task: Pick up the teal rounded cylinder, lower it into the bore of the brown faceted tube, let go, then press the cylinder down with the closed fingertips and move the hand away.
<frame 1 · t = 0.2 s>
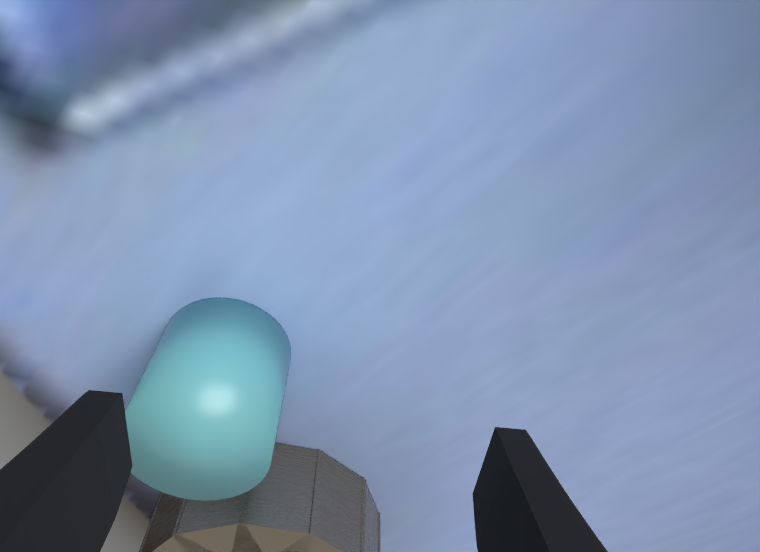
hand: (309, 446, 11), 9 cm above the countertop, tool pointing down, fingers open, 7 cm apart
teal rounded cylinder: (228, 348, 22), on the countertop
brown faceted tube: (271, 514, 28), on the countertop
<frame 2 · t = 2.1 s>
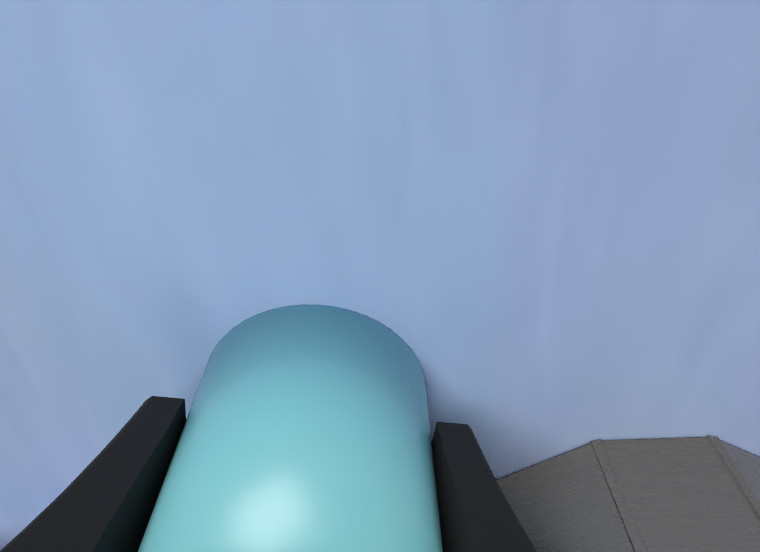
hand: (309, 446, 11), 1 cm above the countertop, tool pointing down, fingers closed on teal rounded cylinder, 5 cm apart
teal rounded cylinder: (316, 394, 13), on the countertop, touching gripper
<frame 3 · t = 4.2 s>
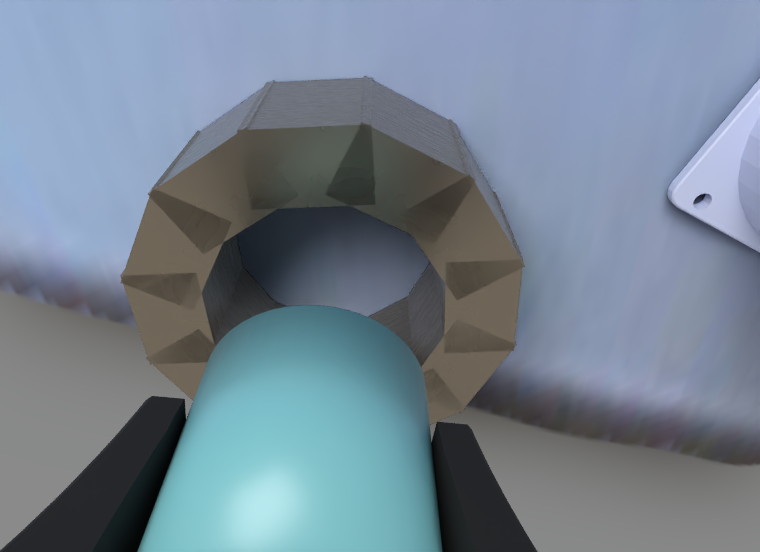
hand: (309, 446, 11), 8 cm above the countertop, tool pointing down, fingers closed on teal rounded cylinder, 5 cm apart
teal rounded cylinder: (315, 395, 13), point 7 cm above the countertop, touching gripper
brown faceted tube: (335, 240, 19), on the countertop
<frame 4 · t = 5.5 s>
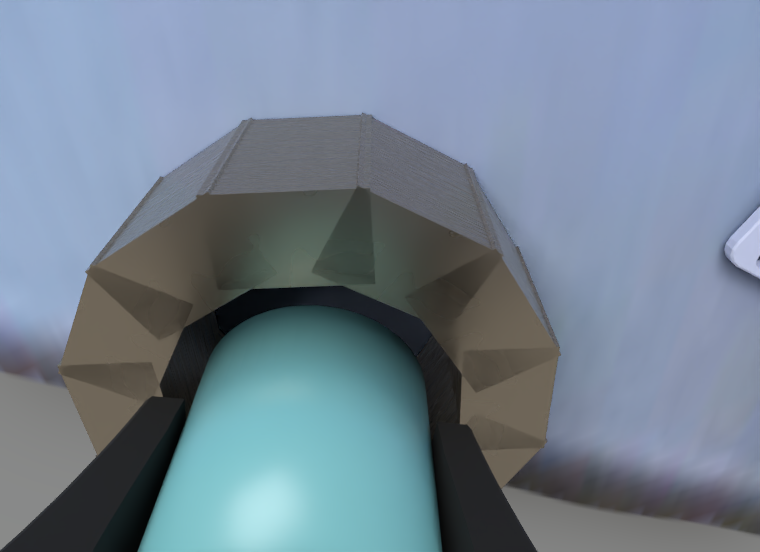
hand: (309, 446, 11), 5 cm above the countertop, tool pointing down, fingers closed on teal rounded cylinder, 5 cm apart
teal rounded cylinder: (315, 395, 13), point 4 cm above the countertop, touching gripper
brown faceted tube: (327, 300, 16), on the countertop
when the fingers open (5 cm above the countertop, at t = 6.4 s): teal rounded cylinder drops 4 cm, resting in brown faceted tube.
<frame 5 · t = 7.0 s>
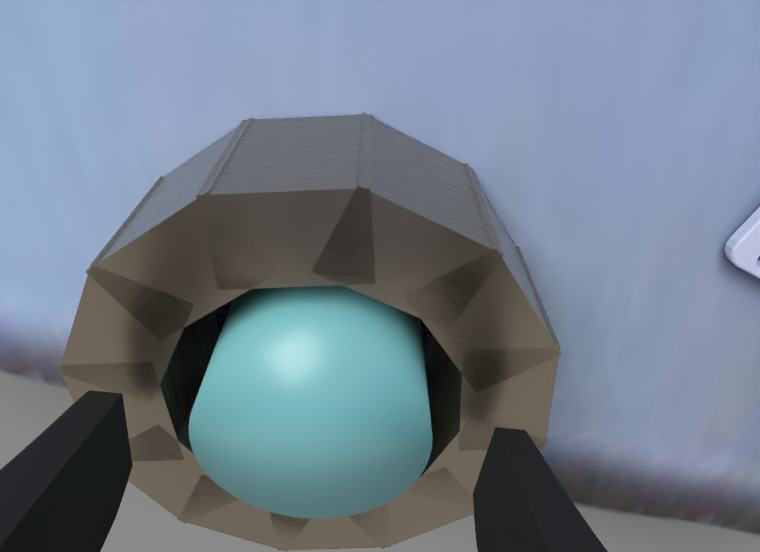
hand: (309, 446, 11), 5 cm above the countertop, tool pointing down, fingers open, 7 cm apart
teal rounded cylinder: (329, 299, 16), resting in brown faceted tube
brown faceted tube: (327, 300, 16), on the countertop
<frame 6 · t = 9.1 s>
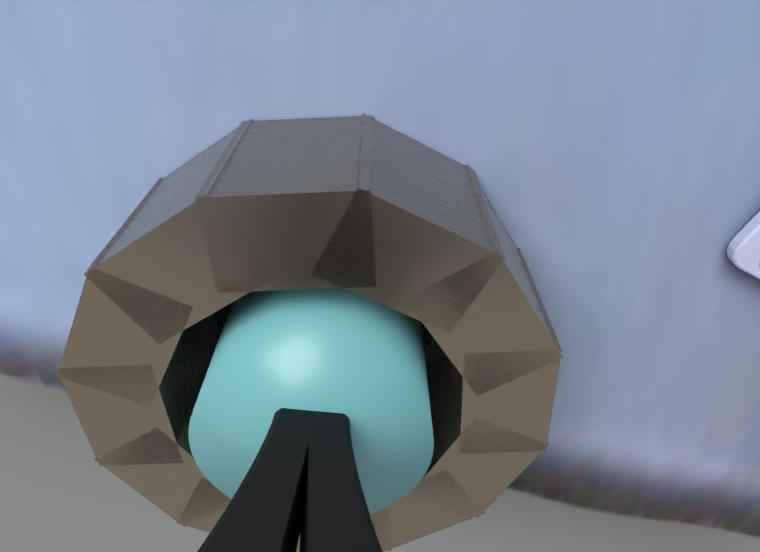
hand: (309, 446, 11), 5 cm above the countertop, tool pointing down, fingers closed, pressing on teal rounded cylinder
teal rounded cylinder: (329, 301, 16), resting in brown faceted tube, touching gripper
brown faceted tube: (327, 302, 16), on the countertop
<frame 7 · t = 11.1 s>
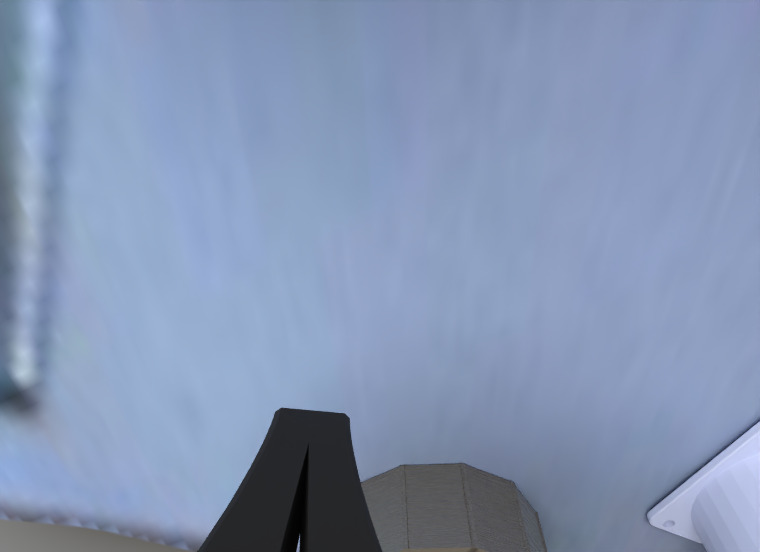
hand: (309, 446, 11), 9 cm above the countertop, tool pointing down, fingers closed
brown faceted tube: (431, 533, 29), on the countertop
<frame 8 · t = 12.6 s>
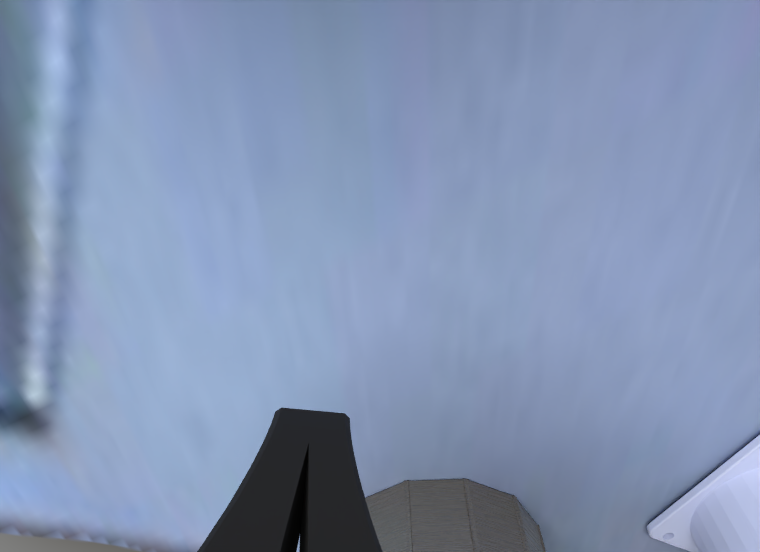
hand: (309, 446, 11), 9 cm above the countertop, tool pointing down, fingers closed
brown faceted tube: (435, 545, 29), on the countertop
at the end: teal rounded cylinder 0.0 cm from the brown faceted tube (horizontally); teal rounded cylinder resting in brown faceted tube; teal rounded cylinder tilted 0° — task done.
